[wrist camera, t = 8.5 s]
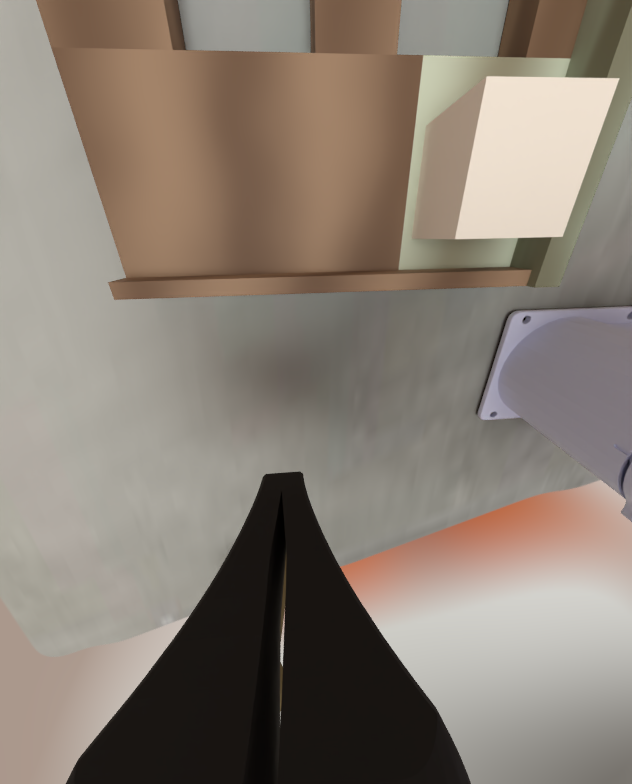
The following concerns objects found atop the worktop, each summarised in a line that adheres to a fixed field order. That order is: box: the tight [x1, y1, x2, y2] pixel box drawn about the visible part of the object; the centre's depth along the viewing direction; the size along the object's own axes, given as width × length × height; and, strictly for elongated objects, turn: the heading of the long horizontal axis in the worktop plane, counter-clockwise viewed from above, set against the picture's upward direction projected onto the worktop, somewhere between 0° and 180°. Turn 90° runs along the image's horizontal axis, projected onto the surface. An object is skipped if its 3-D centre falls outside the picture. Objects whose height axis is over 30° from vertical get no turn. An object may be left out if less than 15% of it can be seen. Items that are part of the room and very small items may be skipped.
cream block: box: [411, 76, 620, 239], centre depth 11 cm, size 4×4×4 cm
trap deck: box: [36, 0, 632, 300], centre depth 11 cm, size 20×14×4 cm
